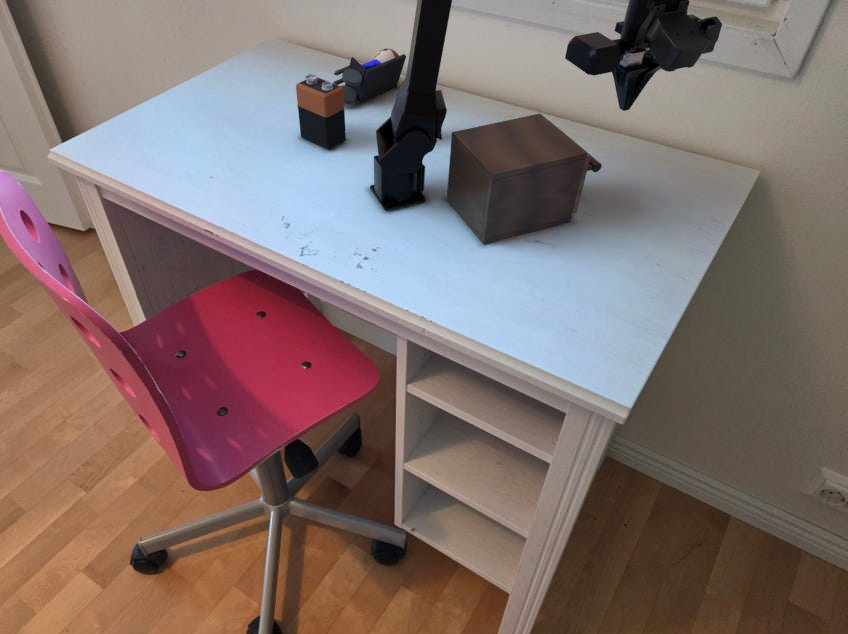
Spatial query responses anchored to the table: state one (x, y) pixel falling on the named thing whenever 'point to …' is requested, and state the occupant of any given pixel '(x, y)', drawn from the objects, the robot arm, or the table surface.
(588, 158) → the drawer
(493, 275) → the table surface
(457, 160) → the cabinet
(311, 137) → the battery
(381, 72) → the character figurine
